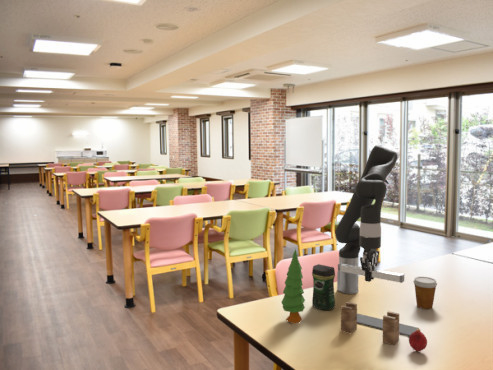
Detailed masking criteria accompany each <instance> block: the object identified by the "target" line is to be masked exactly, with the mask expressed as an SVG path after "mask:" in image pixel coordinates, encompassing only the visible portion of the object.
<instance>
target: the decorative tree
mask: <svg viewBox="0 0 493 370" xmlns="http://www.w3.org/2000/svg"><path fill="white" fill-rule="evenodd" d="M294 249H295V250H294V252H293V255H292V256H291V257H292V258H291V260H290V264H289V266H288V269H287V270H288V271H287V272H286V275H287V276H286V278H285V281H284V285H285V287H284V289H283V291H282V293H283V298H282V300H281V304H282V309H283V311H285V312H288V313H289V315H288V316H287V318H286V321H287V320H288V322H292V323H291V324H293V323H294V324H300V323H301V322H302V321H303V318H302V317H301V315H300V313H301V312H304V310H305V308H306V307H305V305H304V303H305V301H306V300H305V298H304V296H303V295H304V294H305V292H304V289H303V287H302V286H304V285H303V281H302V279H303V277H304V276H303V272H302V269H303V268H302V265H301V264H300V261H299V258H298V254H297V250H296V248H294ZM301 320H302V321H301ZM300 321H301V322H300ZM288 322H287V323H288ZM299 322H300V323H299Z"/></svg>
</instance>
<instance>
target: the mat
mask: <svg viewBox="0 0 493 370" xmlns="http://www.w3.org/2000/svg"><path fill="white" fill-rule="evenodd" d="M358 324H359V325H363V326H366V327H370V328H374V329H379V330H382V331H383V318H378V317H374V316H371V315H366V314H361V313H358V312H357V325H358ZM417 329H420V327H416V326H412V325H408V324H403V323H401V322H399V335H401V336H406V337H410V335H411V334H412V333H413V332H415V331H416V330H417Z"/></svg>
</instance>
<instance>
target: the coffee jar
mask: <svg viewBox="0 0 493 370" xmlns="http://www.w3.org/2000/svg"><path fill="white" fill-rule="evenodd" d="M311 275H312V276H311V277H312V280H313V281H312V282H313V287H312V288H313V289H312V300H311V304H312V307H314V308H317V309H320V310H324V311H329V310H333V309H334V308H335V307H336V297H335V287H334V281H335V278H336V271H335V267H334V266H328V265H325V264H320V263H318V264H315V265H313V267H312V272H311Z"/></svg>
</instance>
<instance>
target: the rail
mask: <svg viewBox="0 0 493 370" xmlns="http://www.w3.org/2000/svg"><path fill="white" fill-rule="evenodd" d="M338 271H342V272H347V273H352V274H358V276H363V277H365V271H363V270H362V267H361V266H359V265H358V266H354V265H348V264H343V263H339V262H338V264H337V272H338ZM371 277H374V279H379V280H385V281H390V282H396V283H400V284H402V283H404V282H405V273H398V272H392V271H388V270H387V271H386V270H380V269H376V268H375V269H372V271H371Z"/></svg>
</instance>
